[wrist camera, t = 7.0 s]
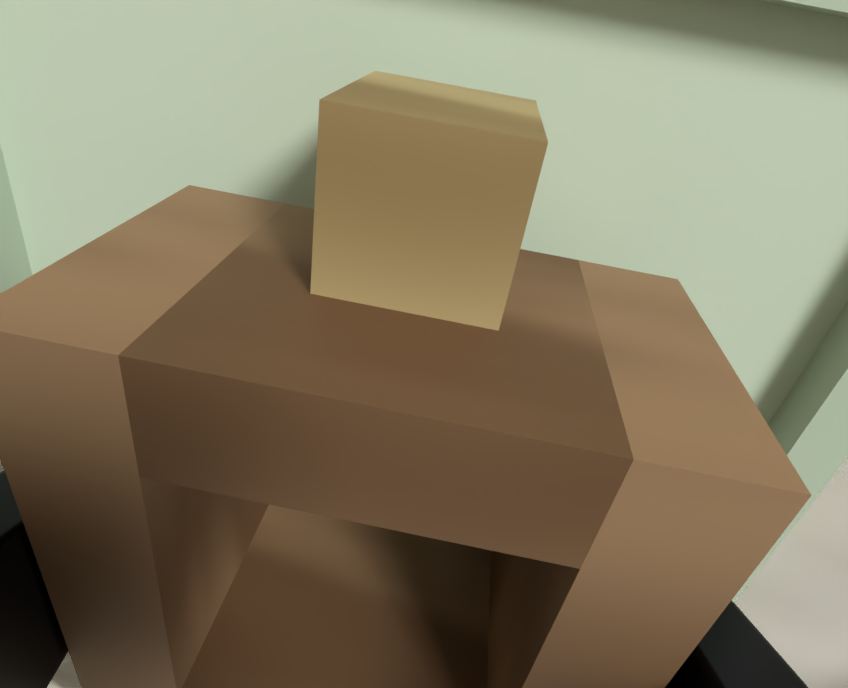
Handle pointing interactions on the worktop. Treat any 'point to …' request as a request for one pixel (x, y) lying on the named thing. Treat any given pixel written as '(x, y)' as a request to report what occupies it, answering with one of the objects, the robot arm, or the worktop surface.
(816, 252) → the tray
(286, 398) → the wooden lantern frame
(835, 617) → the worktop surface
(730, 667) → the robot arm
